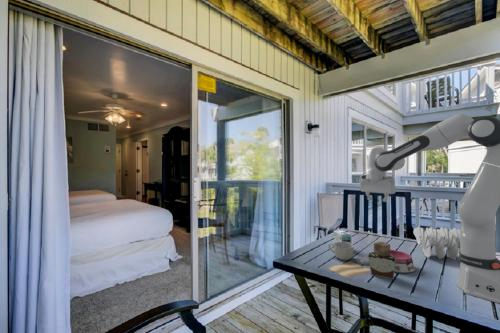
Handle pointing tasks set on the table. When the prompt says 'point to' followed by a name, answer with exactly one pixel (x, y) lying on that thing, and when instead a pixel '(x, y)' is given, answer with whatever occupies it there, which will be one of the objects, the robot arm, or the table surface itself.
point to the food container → (382, 265)
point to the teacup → (342, 250)
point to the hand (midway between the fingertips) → (377, 200)
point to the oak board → (349, 269)
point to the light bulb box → (342, 236)
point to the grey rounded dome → (363, 261)
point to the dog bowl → (403, 262)
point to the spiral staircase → (438, 241)
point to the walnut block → (382, 249)
